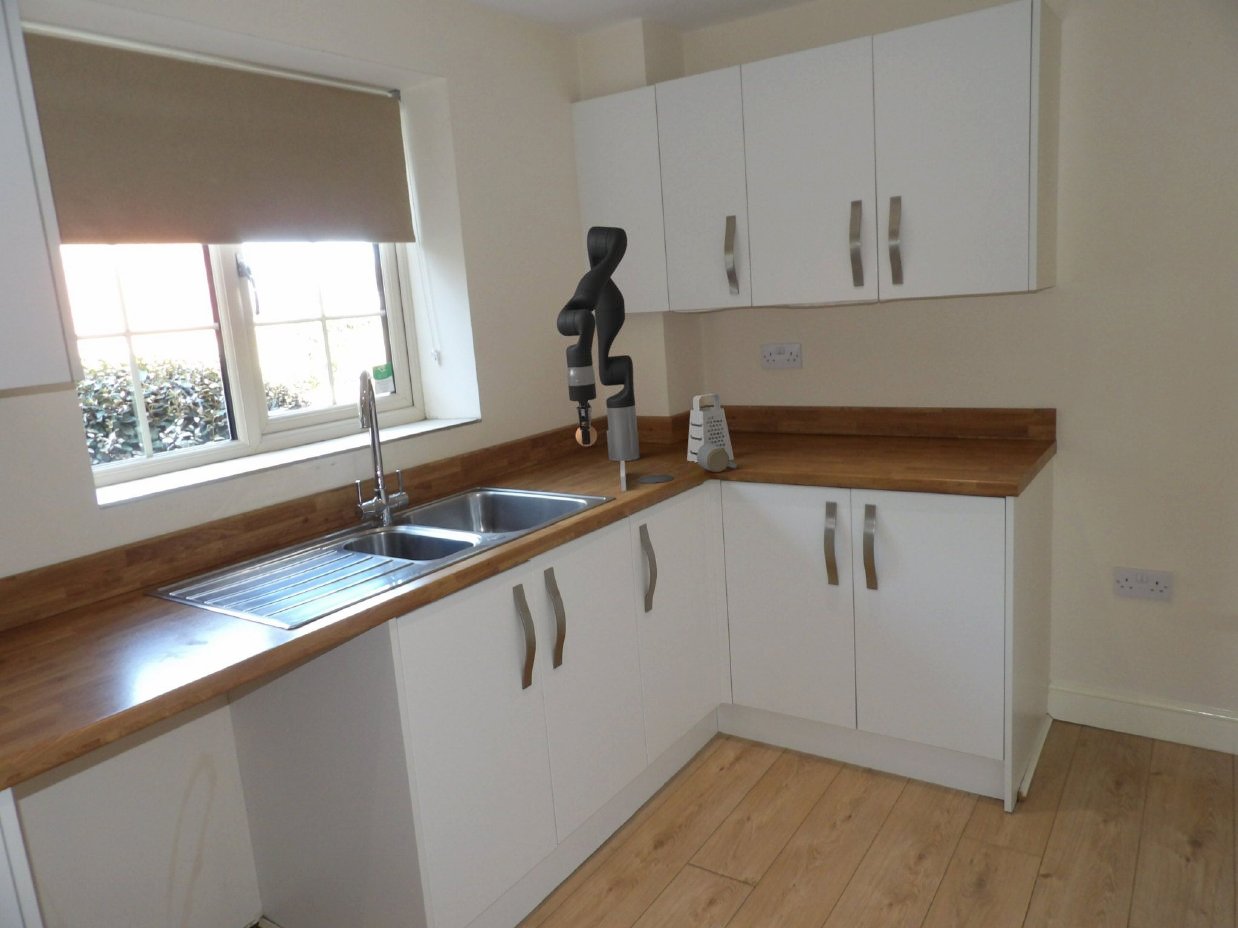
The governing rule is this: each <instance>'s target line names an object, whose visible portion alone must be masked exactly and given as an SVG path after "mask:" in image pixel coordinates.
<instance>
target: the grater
mask: <svg viewBox="0 0 1238 928" xmlns="http://www.w3.org/2000/svg"><path fill="white" fill-rule="evenodd" d="M708 396H712V397H713V406H707V407H701V408H700V399H701V398H702V397H708ZM692 408H693V409H690V410H689V411H690V412H689V413H690V414H689V426H688V427H689V429H688V442H687V443H688V444H687V459H686V461H689V462H692V461H694V462H693V463H696V462H698V461H697V453H698V450H699V448H700V447H701V446H702V445H704V444H706V443H713V444H715V445H717V446H719V447H721V448H723V449H724V450H725V451H726V452H727V453H728V455H729V460H730V461H733V460H735V458H734V453H733V452H734V451H733V448H732V443H731V436H730V434H729V433H730V432H729V427H728V423H727V419H726V414H725V408H723V407H721V397H720V396H719V394H717V393H706V394H699V395H695V396H694V397H693V399H692Z"/></svg>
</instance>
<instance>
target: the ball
mask: <svg viewBox="0 0 1238 928" xmlns="http://www.w3.org/2000/svg"><path fill="white" fill-rule="evenodd" d="M583 426H584V425H583ZM589 426H590V425H589ZM575 439H576V442H577V443H578V444H579V445H581V446H583V447H591V446H592V445H594V444H595V443H596V441H597V439H598V432H597V430H596V429H595V427H593V426H592V425H591V426H590V444H589V445H583V444H582V433H581V430H580V426H579V427H578V428H577V430H576V431H575Z"/></svg>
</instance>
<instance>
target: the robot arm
mask: <svg viewBox="0 0 1238 928" xmlns="http://www.w3.org/2000/svg"><path fill="white" fill-rule="evenodd" d="M586 246H587V247H586V248H587V256H588V262H589V268H590V270H589V271H587V272H586V273H585V274H584V275H583V277H582V278H580V279H579V282H578V284H577V287H576V289H575V290H574V294H573V295H572V297H571V298H570V299H569V300H568V301H567V303H565V305H564V306H563V308H562V309H561V310H560V311H559V313H558V316H557V319H556V328H557V330H558V333H560V335H562V336H565V337H578V336H579V337H578V341H577V343H575V344H572V345H569V346H568V347H567V348H566V350H565V354H566V355H565V356H566V364H567V372H566V373H567V376H566V377H567V387H568V388H567V389H568V397H569V401H570V402H578V406H576V414H577V422H578V424H579V427H580V430H581V433H582V444H583V445H589V444H590V426H592V405H590V402H589V401H593V400H595V399H597V387H596V386H597V385H596V378H595V376H596V375H595V370H594V366H593V363H594V362H593V354H592V352H593V342H594V336H595V331H596V336H597V353H598V355H597V359H598V378H599V381H600V384H601V385H602V386H604V387H606V386H607V387H608V386H609V387H610V386H621V385H623V388H622V389H621V390H620V391H619V392H617V393H615V394H612V395H611V396H609V397H608V398H606V399H605V401H606V402H605V404H606V416H607V425H608V426H607V428H608V429H607V430H606V438H607V439H606V440H607V441H606V442H607V452H608V460H610V461H613V462H620V461H625V462H628V461H635V460H638V459H640V449H639V448H640V447H639V445H640V443H639V434H638V422H637V421H638V419H637V411H636V410H637V409H636V408H637V407H636V399H635V388H634V387H635V386H634V385H635V384H634V365H633V360H632V357H631V356H630V355H613V356H611V355H610V351H611V347H612V344H613V343H614V340H615V339H616V338H617V336H618V334H619V333H620V331H621V330H622V327H623V326H624V323H625V320H626V309H625V306H626V305H625V298H624V296H623V293H622V292H621V290H620V288H619V287H618V286H617V284H616V283H615V282H614V280H613V279H612V275H613V274H614V273H615V271H616V269H617V268H618V266H619V265H620V263H621V261H622V260H623V258H624V256H625V254H626V251H627V247H628V236H627V232H626V231H625V229H624V228H622V227H617V226H599V225H597V226H596V225H595V226H594V225H593V226H591V227H590V228H589V229H588V232H587V236H586ZM593 312H594V313H593ZM609 355H610V356H609ZM583 425H584V426H583ZM589 425H590V426H589Z"/></svg>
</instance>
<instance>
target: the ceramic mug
mask: <svg viewBox="0 0 1238 928" xmlns="http://www.w3.org/2000/svg"><path fill="white" fill-rule="evenodd" d="M697 461H698V463H697V464H698V465H699V466H700V467H701V468H703V469H706V470H707V471H710V472H713V473H721V472H723V471H725V470H726V469H727V468H731V469H734V470H735V469H737V467H738V463H737V462H734V461H733V460H729V455H728V453H727V452H726V451H725V450H724V448H721V447H719V446H717V445H715V444H713V443H706V444H704V445H702V446H701V447H700V448H699V450H698V453H697Z"/></svg>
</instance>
